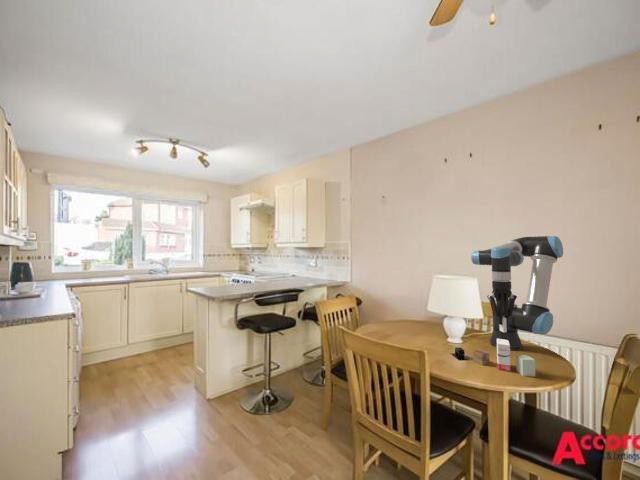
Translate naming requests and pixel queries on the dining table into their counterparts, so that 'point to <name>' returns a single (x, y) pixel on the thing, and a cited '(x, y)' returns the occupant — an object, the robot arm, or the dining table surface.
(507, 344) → the ink box
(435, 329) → the dining table surface
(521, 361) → the sage block
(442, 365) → the dining table surface
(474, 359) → the walnut cube
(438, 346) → the dining table surface
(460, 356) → the black bracket plate
